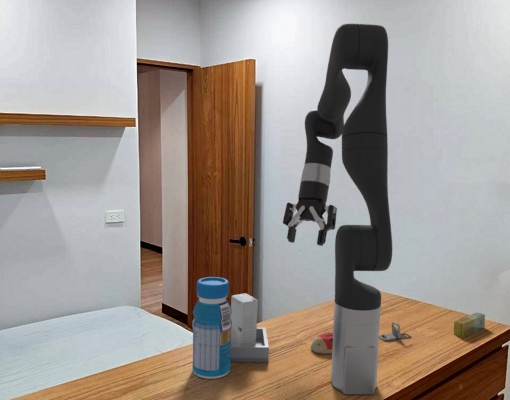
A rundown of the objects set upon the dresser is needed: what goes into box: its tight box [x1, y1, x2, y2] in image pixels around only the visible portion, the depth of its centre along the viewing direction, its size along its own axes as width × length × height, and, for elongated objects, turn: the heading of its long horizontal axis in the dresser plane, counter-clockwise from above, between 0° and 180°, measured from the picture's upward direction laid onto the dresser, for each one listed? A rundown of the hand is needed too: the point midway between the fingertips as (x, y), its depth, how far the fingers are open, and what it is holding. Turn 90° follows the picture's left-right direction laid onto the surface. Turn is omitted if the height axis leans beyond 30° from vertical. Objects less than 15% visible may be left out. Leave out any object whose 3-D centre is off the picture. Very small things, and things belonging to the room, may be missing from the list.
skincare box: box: [230, 293, 259, 346], centre depth 116 cm, size 6×4×12 cm
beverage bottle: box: [191, 276, 232, 380], centre depth 104 cm, size 8×8×20 cm
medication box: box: [453, 312, 486, 338], centre depth 133 cm, size 12×3×4 cm, turn 129°
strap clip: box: [379, 321, 412, 342], centre depth 127 cm, size 8×3×4 cm, turn 111°
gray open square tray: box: [230, 327, 270, 363], centre depth 116 cm, size 12×12×4 cm
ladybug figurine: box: [310, 332, 333, 355], centre depth 119 cm, size 7×10×4 cm
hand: (305, 243), depth 126 cm, fingers open, 8 cm apart
